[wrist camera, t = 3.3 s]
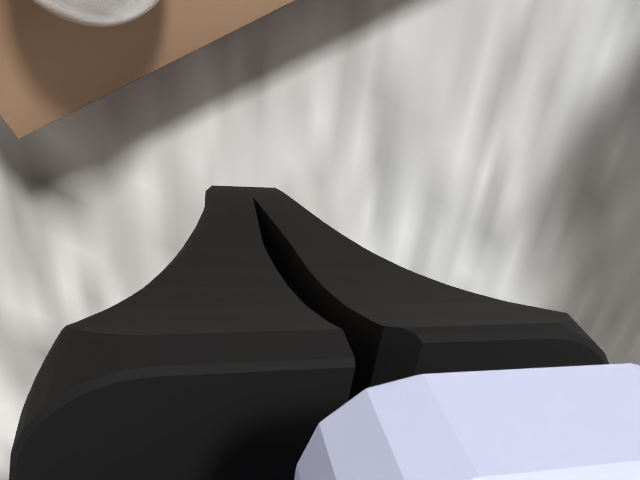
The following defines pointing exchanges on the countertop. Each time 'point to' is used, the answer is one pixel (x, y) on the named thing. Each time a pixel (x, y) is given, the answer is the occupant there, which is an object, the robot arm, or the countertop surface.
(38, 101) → the brown square tray
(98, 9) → the steel ball
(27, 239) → the countertop surface
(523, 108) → the countertop surface
